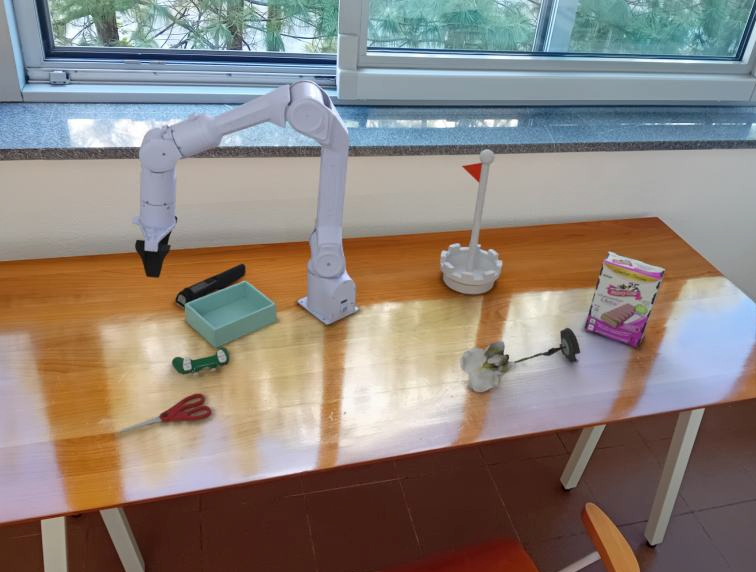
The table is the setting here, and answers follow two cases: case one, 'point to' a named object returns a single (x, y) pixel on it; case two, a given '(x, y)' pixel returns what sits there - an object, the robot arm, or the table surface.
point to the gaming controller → (201, 362)
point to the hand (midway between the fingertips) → (156, 264)
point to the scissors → (179, 412)
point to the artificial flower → (506, 361)
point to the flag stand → (472, 245)
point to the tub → (230, 313)
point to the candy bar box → (624, 299)
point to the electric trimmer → (210, 285)
